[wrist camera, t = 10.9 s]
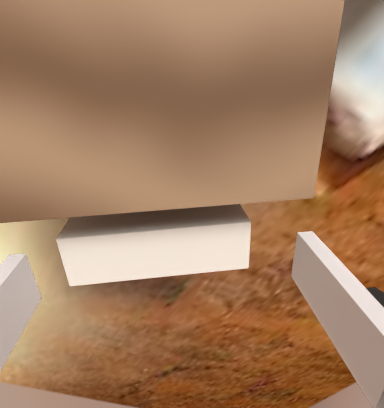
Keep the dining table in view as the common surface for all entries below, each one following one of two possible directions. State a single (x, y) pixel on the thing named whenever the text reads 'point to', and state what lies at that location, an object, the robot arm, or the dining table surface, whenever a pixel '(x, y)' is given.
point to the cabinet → (161, 103)
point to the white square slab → (154, 244)
